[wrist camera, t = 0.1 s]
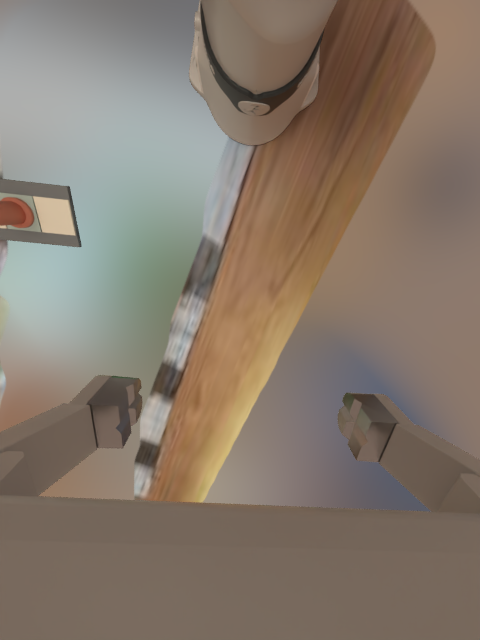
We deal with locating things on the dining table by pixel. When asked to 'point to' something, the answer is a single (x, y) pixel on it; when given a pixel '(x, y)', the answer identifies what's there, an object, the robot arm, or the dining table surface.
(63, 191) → the track board
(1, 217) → the pawn
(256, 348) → the dining table surface
